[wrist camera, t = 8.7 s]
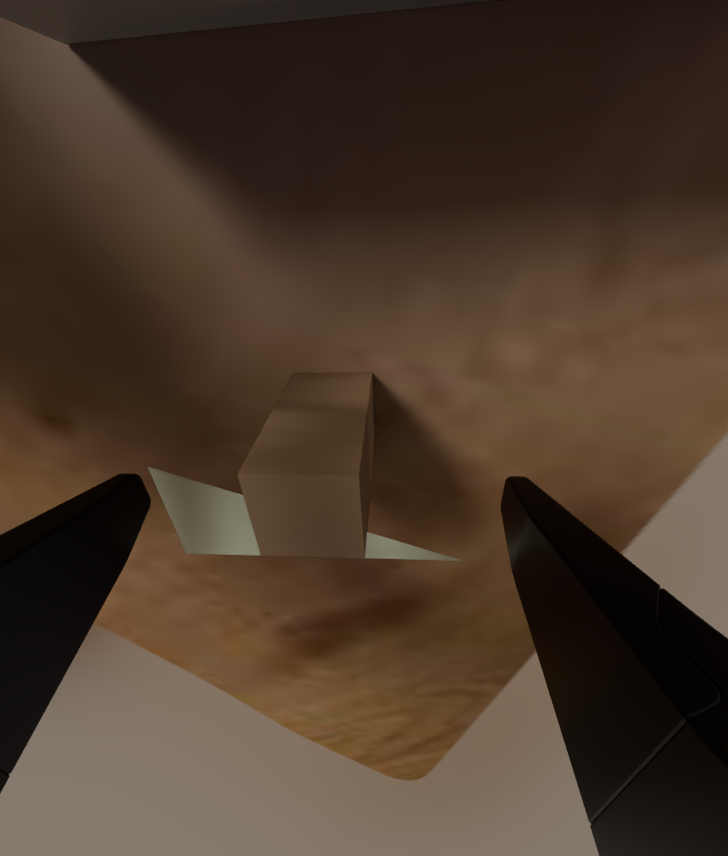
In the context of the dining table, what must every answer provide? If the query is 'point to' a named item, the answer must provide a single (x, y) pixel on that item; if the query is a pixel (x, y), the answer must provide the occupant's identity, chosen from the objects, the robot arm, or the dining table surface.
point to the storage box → (180, 14)
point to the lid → (295, 482)
